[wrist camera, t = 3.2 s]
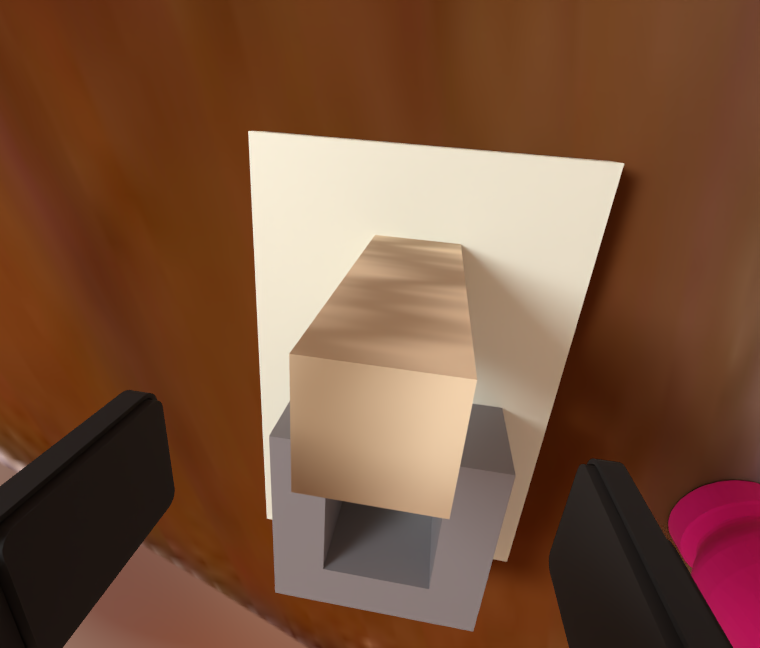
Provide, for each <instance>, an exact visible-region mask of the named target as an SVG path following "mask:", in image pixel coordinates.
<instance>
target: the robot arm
mask: <svg viewBox="0 0 760 648" xmlns="http://www.w3.org/2000/svg"><path fill="white" fill-rule="evenodd" d="M174 492H175V489H174V482H173V475H172V468H171V461H170V454H169V447H168V440H167V433H166V426H165V419H164V412H163V406H162V403H161V402H160V401H157V398H156V397H155V395H154V394H151V393H145V392H139V391H132V390H127V391H124V392H122V393H121V394H119V395H118V396H117V397H116V398H114V399H113V400H112V401H110V402H109V403H108V404H106V405H105V406H104V407H103V408H101V409H100V410H99V411H97V412H96V413H95V414H93V415H92V416H91V417H90V418H88V419H87V420H86V421H84V422H83V423H82V424H81V425H79V426H78V427H77V428H75V429H74V430H73V431H71V432H70V433H69V434H68V435H66V436H65V437H64V438H62V439H61V440H60V441H58V442H57V443H56V444H55V445H53V446H52V447H51V448H49V449H48V450H47V451H45V452H44V453H43V454H42V455H40V456H39V457H38V458H36V459H35V460H34V461H32V462H31V463H30V464H29V465H27V466H26V467H25V468H23V469H22V470H21V471H19V472H18V473H17V474H16V475H14V476H13V477H12V478H10V479H9V480H8V481H6V482H5V483H4V484H3V485H1V486H0V648H63V646H64V645H65V644H66V642H67V641H68V640H69V639H70V637H71V636H72V635H73V633H74V632H75V630H76V629H77V628H78V627H79V625H80V624H81V623H82V621H83V620H84V619H85V617H86V616H87V615H88V613H89V612H90V611H91V609H92V608H93V607H94V605H95V604H96V603H97V602H98V600H99V599H100V597H101V596H102V595H103V594H104V592H105V591H106V590H107V588H108V587H109V586H110V584H111V583H112V582H113V580H114V579H115V578H116V576H117V575H118V574H119V572H120V571H121V570H122V568H123V567H124V566H125V565H126V563H127V562H128V560H129V559H130V558H131V557H132V555H133V554H134V552H135V551H136V550H137V549H138V547H139V546H140V545H141V543H142V542H143V541H144V539H145V538H146V537H147V535H148V534H149V533H150V531H151V530H152V529H153V527H154V526H155V525H156V523H157V522H158V521H159V520H160V518H161V517H162V516H163V514H164V513H165V512H166V510H167V509H168V508H169V506H170V505H171V503H172V500H173V497H174ZM549 569H550V574H551V578H552V582H553V586H554V590H555V594H556V598H557V602H558V606H559V609H560V613H561V617H562V621H563V625H564V629H565V633H566V637H567V641H568V645H569V648H733V646H732V645H731V643H730V641H729V639H728V638H727V636H726V634H725V633H724V631H723V629H722V627H721V626H720V624H719V622H718V621H717V619H716V617H715V615H714V614H713V612H712V610H711V609H710V607H709V605H708V603H707V602H706V600H705V598H704V596H703V595H702V593H701V591H700V590H699V588H698V586H697V584H696V583H695V581H694V579H693V578H692V576H691V574H690V572H689V571H688V569H687V567H686V566H685V564H684V562H683V560H682V559H681V557H680V555H679V554H678V552H677V550H676V549H675V547H674V546H673V545H672V543H671V542H670V541H669V540H668V539H666V537H665V535H664V534H663V532H662V530H661V529H660V527H659V525H658V523H657V522H656V520H655V518H654V516H653V515H652V513H651V511H650V509H649V508H648V506H647V504H646V502H645V501H644V499H643V497H642V495H641V494H640V492H639V490H638V488H637V487H636V485H635V483H634V481H633V480H632V478H631V476H630V475H629V473H628V471H627V469H626V468H625V466H624V465H623V464H622V463H620V462H614V461H607V460H600V459H590V460H589V461H588V463H587V465H586V464H581V465H580V466H579V468H578V470H577V473H576V476H575V479H574V482H573V485H572V488H571V491H570V494H569V497H568V500H567V503H566V506H565V509H564V512H563V515H562V518H561V521H560V524H559V527H558V530H557V533H556V536H555V539H554V542H553V545H552V548H551V551H550V555H549Z"/></svg>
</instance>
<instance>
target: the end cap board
mask: <svg viewBox="0 0 760 648" xmlns="http://www.w3.org/2000/svg"><path fill="white" fill-rule="evenodd" d="M248 133H249V154H250V175H251V196H252V217H253V237H254V258H255V279H256V300H257V320H258V341H259V362H260V383H261V403H262V424H263V445H264V466H265V486H266V507H267V519H272V521H273V546H274V570H275V592H276V593H281V594H286V595H291V596H296V597H301V598H306V599H311V600H316V601H322V602H327V603H332V604H337V605H342V606H347V607H352V608H357V609H362V610H367V611H372V612H377V613H382V614H387V615H392V616H397V617H402V618H407V619H413V620H418V621H423V622H428V623H433V624H438V625H443V626H448V627H453V628H458V629H463V630H468V631H473V630H474V626H475V623H476V619H477V615H478V612H479V608H480V604H481V601H482V597H483V593H484V590H485V586H486V582H487V579H488V575H489V571H490V568H491V564H492V560H493V559H495V560H500V561H506V562H507V560H508V557H509V553H510V550H511V546H512V543H513V540H514V536H515V533H516V529H517V526H518V523H519V519H520V516H521V512H522V509H523V506H524V502H525V499H526V495H527V492H528V489H529V485H530V482H531V478H532V475H533V472H534V468H535V465H536V461H537V458H538V455H539V451H540V448H541V444H542V441H543V438H544V434H545V431H546V427H547V424H548V421H549V417H550V414H551V410H552V407H553V404H554V400H555V397H556V394H557V390H558V387H559V383H560V380H561V377H562V373H563V370H564V366H565V363H566V360H567V356H568V353H569V349H570V346H571V343H572V339H573V336H574V332H575V329H576V326H577V322H578V319H579V315H580V312H581V309H582V305H583V302H584V298H585V295H586V292H587V288H588V285H589V281H590V278H591V275H592V271H593V268H594V264H595V261H596V258H597V254H598V251H599V247H600V244H601V241H602V237H603V234H604V230H605V227H606V224H607V220H608V217H609V213H610V210H611V207H612V203H613V200H614V197H615V193H616V190H617V186H618V183H619V180H620V176H621V173H622V169H623V166H624V163H619V162H613V161H602V160H590V159H579V158H567V157H556V156H544V155H532V154H521V153H509V152H497V151H486V150H474V149H463V148H451V147H439V146H428V145H416V144H404V143H393V142H381V141H370V140H358V139H346V138H335V137H323V136H312V135H300V134H288V133H277V132H265V131H248ZM375 235H381V236H391V237H400V238H409V239H418V240H428V241H437V242H446V243H455V244H461V250H462V258H463V266H464V275H465V283H466V291H467V299H468V308H469V316H470V324H471V333H472V341H473V349H474V358H475V366H476V374H477V383H476V388H475V393H474V398H473V403H472V408H471V414H470V419H469V424H468V429H467V434H466V439H465V444H464V449H463V454H462V459H461V464H460V469H459V474H458V479H457V484H456V489H455V494H454V499H453V504H452V509H451V514H450V519H444V518H438V517H432V516H427V515H421V514H415V513H409V512H403V511H398V510H392V509H386V508H380V507H375V506H369V505H363V504H357V503H351V502H346V501H340V500H334V499H328V498H322V497H317V496H311V495H305V494H299V493H294V492H291V441H290V373H289V353H290V352H291V351H292V349H293V348H294V346H295V345H296V344H297V342H298V341H299V339H300V338H301V337H302V335H303V334H304V333H305V331H306V330H307V328H308V327H309V326H310V324H311V323H312V321H313V320H314V319H315V317H316V316H317V315H318V313H319V312H320V310H321V309H322V308H323V306H324V305H325V303H326V302H327V301H328V299H329V298H330V297H331V295H332V294H333V292H334V291H335V290H336V288H337V287H338V286H339V284H340V283H341V281H342V280H343V279H344V277H345V276H346V274H347V273H348V272H349V270H350V269H351V268H352V266H353V265H354V263H355V262H356V261H357V259H358V258H359V256H360V255H361V254H362V252H363V251H364V250H365V248H366V247H367V245H368V244H369V243H370V241H371V240H372V238H373V237H374V236H375Z"/></svg>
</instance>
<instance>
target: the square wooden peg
mask: <svg viewBox="0 0 760 648" xmlns="http://www.w3.org/2000/svg"><path fill="white" fill-rule="evenodd" d="M289 373H290V441H291V492H294V493H299V494H305V495H311V496H317V497H322V498H328V499H334V500H340V501H346V502H351V503H357V504H363V505H369V506H375V507H380V508H386V509H392V510H398V511H403V512H409V513H415V514H421V515H427V516H432V517H438V518H444V519H450V514H451V509H452V504H453V499H454V494H455V489H456V484H457V479H458V474H459V469H460V464H461V459H462V454H463V449H464V444H465V439H466V434H467V429H468V424H469V419H470V414H471V408H472V403H473V398H474V393H475V388H476V383H477V374H476V366H475V358H474V349H473V341H472V333H471V324H470V316H469V308H468V299H467V291H466V283H465V275H464V266H463V258H462V250H461V244H455V243H446V242H437V241H428V240H418V239H409V238H400V237H391V236H381V235H375V236H374V237H373V238H372V240H371V241H370V243H369V244H368V245H367V247H366V248H365V250H364V251H363V252H362V254H361V255H360V256H359V258H358V259H357V261H356V262H355V263H354V265H353V266H352V268H351V269H350V270H349V272H348V273H347V274H346V276H345V277H344V279H343V280H342V281H341V283H340V284H339V286H338V287H337V288H336V290H335V291H334V292H333V294H332V295H331V297H330V298H329V299H328V301H327V302H326V303H325V305H324V306H323V308H322V309H321V310H320V312H319V313H318V315H317V316H316V317H315V319H314V320H313V321H312V323H311V324H310V326H309V327H308V328H307V330H306V331H305V333H304V334H303V335H302V337H301V338H300V339H299V341H298V342H297V344H296V345H295V346H294V348H293V349H292V351H291V352H290V353H289Z"/></svg>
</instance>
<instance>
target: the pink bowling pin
mask: <svg viewBox="0 0 760 648" xmlns="http://www.w3.org/2000/svg"><path fill="white" fill-rule="evenodd" d="M668 528H669V532H670V535H671V537H672V539H673V540H674V542H675V544H676V546H677V548H678V549H679V551H680V553H681V555H682V557H683V558H684V560H685V561H686V563H687V564H688V565H689V566H690V567H692V572H691V576H692V578H693V579H694V581H695V583H696V584H697V586H698V588H699V590H700V591H701V593H702V595H703V596H704V598H705V600H706V602H707V603H708V605H709V607H710V609H711V610H712V612H713V614H714V615H715V617H716V619H717V621H718V622H719V624H720V626H721V627H722V629H723V631H724V633H725V634H726V636H727V638H728V639H729V641H730V643H731V645H732V646H733V648H760V484H758V483H755V482H750V481H740V480H729V481H719V482H715V483H711V484H708V485H704V486H701V487H699V488H697V489H695V490H693V491H691V492H690V493H688V494H687V495H686V496H684V497H683V498H682V499H680V500H679V502H678V503H677V504H676V505H675V507H674V508H673V509H672V511H671V514H670V517H669V521H668Z"/></svg>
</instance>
